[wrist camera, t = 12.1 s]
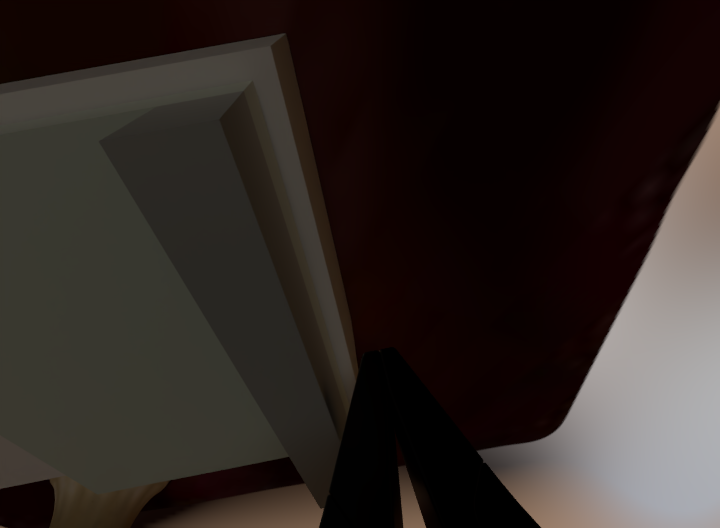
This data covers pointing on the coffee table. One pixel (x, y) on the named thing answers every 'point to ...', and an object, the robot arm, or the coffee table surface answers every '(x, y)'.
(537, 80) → the coffee table surface
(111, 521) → the hand bell
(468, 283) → the coffee table surface
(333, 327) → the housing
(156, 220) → the lid
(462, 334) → the coffee table surface
